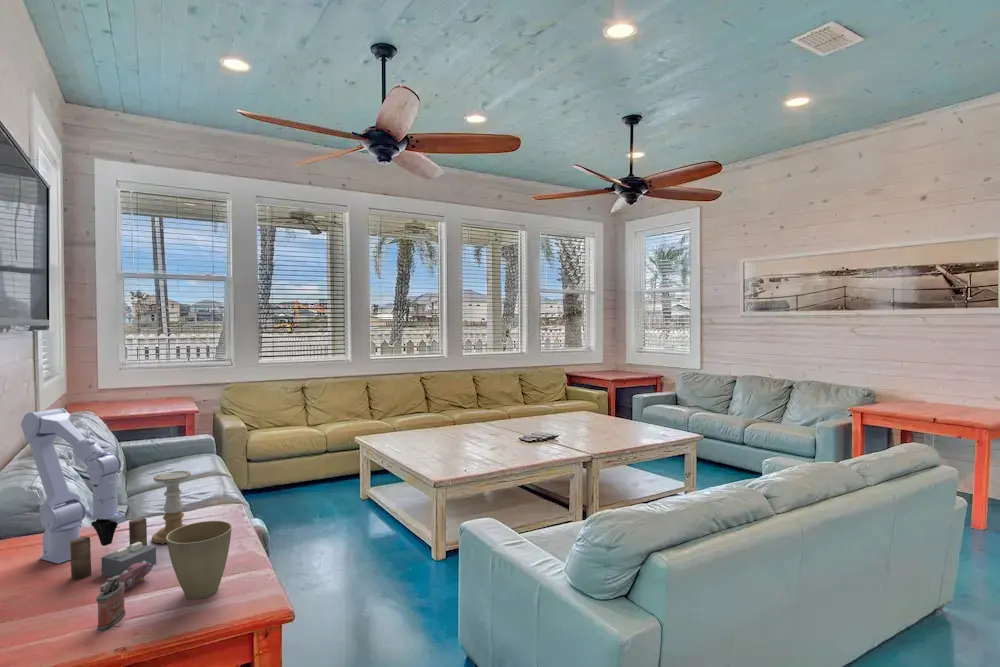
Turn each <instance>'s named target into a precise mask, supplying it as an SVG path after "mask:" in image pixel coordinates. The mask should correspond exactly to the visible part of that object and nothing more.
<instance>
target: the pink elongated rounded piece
mask: <svg viewBox="0 0 1000 667" xmlns="http://www.w3.org/2000/svg"><path fill="white" fill-rule="evenodd" d="M153 566H154V565H153V564H151V563H149V562H145V561H143V562H142V563H136V564H133V565H131V566H130V567H129V568H128V569H127V570H125V571H123V573H121V574H120V575H119V576H120V580H119V582H124V583H125V587H124V589H126V590H129V589H130V588H131V587H132V586H133V585H134V583H135V584H139V583H141V582H142V581H143V579H144V578H145V577H146V576H147V575H148V574H149V573H150V572H151V571H152V569H153Z"/></svg>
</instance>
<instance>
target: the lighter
mask: <svg viewBox="0 0 1000 667" xmlns="http://www.w3.org/2000/svg"><path fill="white" fill-rule="evenodd" d="M119 580H120V576H114V577H110V578H107V579H106V582H105V583H103V584H102V585H100V587H99V589H100V590H99V592H100V593H99V594H98V595H97V596H96V600H95V601H96V602H97V620H98V621H97V622H98V623H97V627H96V628H97V631H98V632H105V630H106V631H108V630H110V629H112V628H113V627H114V626H116V625H117V624H118V623H119V622H120V621H121V620H123V618H124V617H125V616H126V609H125V588H124V587H125V583H124V582H119ZM111 627H112V628H111Z"/></svg>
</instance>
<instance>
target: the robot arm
mask: <svg viewBox="0 0 1000 667" xmlns="http://www.w3.org/2000/svg"><path fill="white" fill-rule="evenodd" d="M71 418H72V416H71V413H69V412H68V411H67V410H66V409H65V408H63V407H56V408H53V409H52V408H51V409H46V410H39V411H34V412H33V411H29V412H27V413H25V415H24V416H23V417H22V421H21V423H20V427H21V429H22V433H23V435H24V439H25V441H26V443H28V445H29V448H30V450H31V455H32V457H33V461H34V463H35V466H36V469H37V472H38V474H39V479H40V482H41V484H42V487H43V490H44V493H45V496H46V499H45V501H44V502H43V503H42V504H41V505H40V507H39V509H38V510H39V513H40V515H39V516H40V517H39V518H40V520H39V521H40V524H41V526H42V528H43V529H44V530H45V531H44V532H43V535H42V556H39V559H40V558H41V559H40V560H44V561H47V562H51V563H55V564H58V565H59V564H62V563H65V562H68V561H71V552H70V541H72V540H74V539H76V538H81V536H80V535H81V534H80V533H81V531H80V525H81V524H83V520H84V519H85V518H88V519H89V520H91V521H92V522H91V526H92V528H93V529H94V530H95V532H96V534H97V536H98V540H99V542H100V544H101V546H102V547H105V546H106V547H107V546H109V545H111V544H112V543H113V539H114V535H115V531H116V529H117V527H118V525H120V524H123V523H126V521H127V520H126V514H123V513H122V512H121V511H120V510H118V486H117V484H118V483H117V482H118V481H117V473H119V471H120V470H121V467H122V460H121V459H120V457H119V456H118V454H116V453H115V452H114V453H113V452H111V453H110V452H109V451H106V450H105V449H103V448H102V447H101V446H100V445H99V444H98V443H97V442H96V441H95V440H94V439H93V438H85V437H84V436H83V435H82V433H81V432H80V431H79V430H78V429H77V428H76V426H75V425H74V424H73V423H72V422H71V421H72V419H71ZM58 437H60V438H61V439H63V440H64V441H65V443H68V444H69V446H72V447H73V448H72V454H74V456H75V457H76V458H77V459H79V461H80V462H82V464H84V465H85V466H86V468H85V470H86V474H87V475H88V477H89V482H90V484H91V486H92V509H87V507H86V505H85V503H84V502H83V501H82V499H81V495H79V494H78V493H75V492H73V491H69V487H68V484H67V482H66V478H65V476H64V472H63V468H62V466H61V463H60V460H59V458H58V454H57V452H56V448H55V445H54V441H55V440H56V438H58ZM93 520H95V521H93Z"/></svg>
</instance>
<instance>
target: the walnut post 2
mask: <svg viewBox="0 0 1000 667" xmlns="http://www.w3.org/2000/svg"><path fill="white" fill-rule="evenodd" d="M128 530H129V531H128V532H129V533H128V534H129V539H128V541H129V546H130V545H132V544H134V543H137V542H142V545H145V546H148V531H147V530H148V527H147V518H145V517H137V518H133V519H130V520H129V522H128Z"/></svg>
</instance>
